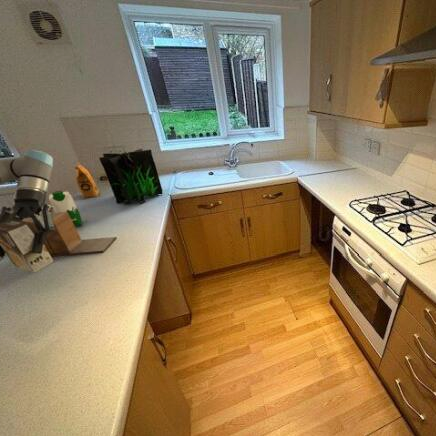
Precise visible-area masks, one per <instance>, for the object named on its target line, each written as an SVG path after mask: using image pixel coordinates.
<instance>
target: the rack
mask: <svg viewBox="0 0 436 436" xmlns="http://www.w3.org/2000/svg"><path fill="white" fill-rule="evenodd" d="M40 214H41V216H42V220H43V222H44V219H43V213H41V212H40ZM52 215H53V221H54V226H55V231H54V232H50V233H48V234H47V239H46V242H45V243H43V244H44V246H45V247H46V249H47V251H48V252H49V254H50V256H51V258H58V257H68V256H82V255H92V254H103V253H105V252H106V251H107V250H108V248H109V247H110V246H111V245H112V244H113V243H114V242H115V241H116V240H117V236H113V237H112V236H111V237H100V238H99V237H98V238H97V237H96V238H86V239H82V238H81V236H80V234H79V232H78V230H77V227H75V226H74V224H73V222H72V220H71V218H70V216H69V214H68V212H55V211H54V212H52ZM23 221H25V222H31V224H32V225H33V227H34V229H35V230H36V232H37V231H38V229H37V227H36V226H35V224H34V222H33V220H32V218H25V220H24V219H23ZM37 233H39V231H38V232H37Z"/></svg>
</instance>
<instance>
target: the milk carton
mask: <svg viewBox="0 0 436 436" xmlns="http://www.w3.org/2000/svg"><path fill="white" fill-rule="evenodd" d="M48 201H49V202H50V204H51V205H50V206H52V207H53V211H54V213H55V212H68V214H69V216H70V218H71V220H72V222H73V224H74V226H75V228H77V227H80V226H83V221H82V216H81V213H80V211H79V209H78V207H77V205H76V203H75V200H74V198H73V196H72V195H71V194H70V192H69V191H63V190H57V191H54V192H52V193H51V194H49V195H48Z"/></svg>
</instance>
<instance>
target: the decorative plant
mask: <svg viewBox="0 0 436 436" xmlns="http://www.w3.org/2000/svg"><path fill="white" fill-rule="evenodd" d="M98 159H99V162H100V164H101V166H102V168H103V170H104V173H105V176H106V178H107V180H108V183H109V186H110V188H111V191H112V193H113V196H114V199H115V202H116V203H117V204H118V205H119V204H123V203H124V201H125V204H124V206H127V205H128V206H130V205H131V204H133V202H134V201H136V200H139V202H140V205H142V204H144V203H146V202H145V201H146V199H145V198H146V197H144V196H149V197H156V196H155V195H157V196H159V195H158V194H163V193H164V192H163V187H162V184H161V180H160V176H159V173H158V169H157V166H156V162H155V161H154V157H153V153H152V149H145V150H144V149H143V148H139V149H136V150H134V151H129V152H127V151H126V150H125V151H124V152H122V153H102V157H101V156H99V157H98ZM163 195H164V194H163ZM135 199H136V200H135ZM133 200H134V201H133ZM143 202H144V203H143Z"/></svg>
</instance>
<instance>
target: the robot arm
mask: <svg viewBox="0 0 436 436" xmlns="http://www.w3.org/2000/svg"><path fill="white" fill-rule="evenodd" d="M53 164H54V158H53V157H52V156H51V155H50V154H48V153H46V152H44V151H40V150H36V149H35V150H34V149H29V150H27V151H24V154H23V157H17V158H3V159H2V158H0V186H1V185H4V184H7V183H9V182H13V181H17V183H16V187H15V189H16V190H15V192H14V195H13V202H14V205H12V206H9V207H8V206H2V207H1V211H0V223H3V222H6V221H9V220H18V221H24V219H28V218H32V220H33V222H34V224H35V226H36V227H37V229H38V231H39V233H35V238H34V243H33V248H32V253H37V254H42V249H43V243H45V242H46V239H47V234H48V233H50V232H54V231H55V226H54V221H53V215H52V213H53V211H54V209H53V207H52V205H49V204H48V203H46V202H47V201H46V200H47V194H48V191H49V184H50V181H51V175H52V171H53V169H54V167H53V166H54V165H53ZM41 212H42V213H43V219H44V222H43V220H42V216H41ZM38 231H37V232H38ZM5 256H6V253H5V251H4V250H3V248H2V247H1V246H0V258H4V257H5Z"/></svg>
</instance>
